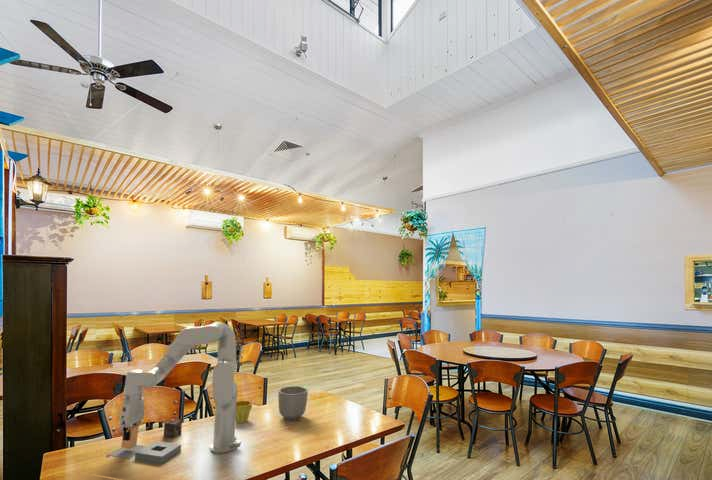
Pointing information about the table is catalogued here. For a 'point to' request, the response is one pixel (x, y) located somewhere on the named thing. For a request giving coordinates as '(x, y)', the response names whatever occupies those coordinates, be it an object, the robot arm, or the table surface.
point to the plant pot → (242, 411)
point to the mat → (126, 452)
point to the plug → (131, 438)
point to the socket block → (158, 452)
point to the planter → (292, 402)
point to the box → (172, 428)
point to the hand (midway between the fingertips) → (130, 437)
